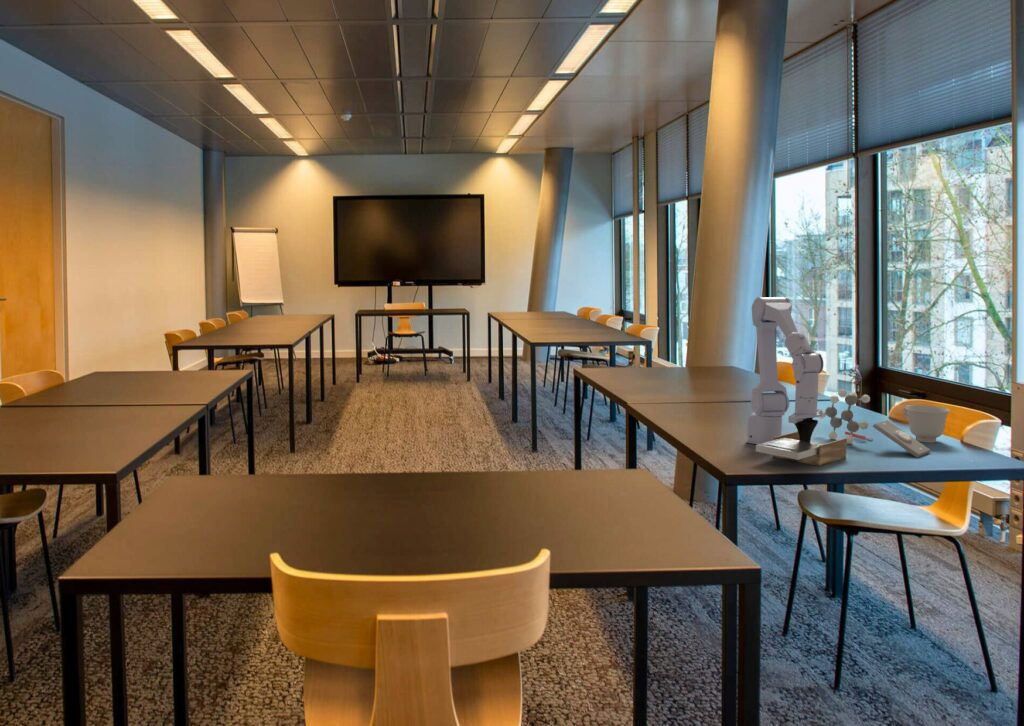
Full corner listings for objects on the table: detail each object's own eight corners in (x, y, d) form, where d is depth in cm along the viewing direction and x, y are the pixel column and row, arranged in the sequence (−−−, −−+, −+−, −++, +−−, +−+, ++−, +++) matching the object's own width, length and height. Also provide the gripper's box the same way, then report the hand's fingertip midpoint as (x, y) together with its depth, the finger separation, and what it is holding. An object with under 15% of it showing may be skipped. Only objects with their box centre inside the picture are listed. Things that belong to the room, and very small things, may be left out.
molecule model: (887, 453, 234) (900, 402, 233) (848, 444, 228) (862, 392, 227) (838, 440, 252) (850, 392, 252) (801, 431, 246) (813, 383, 246)
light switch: (920, 452, 216) (875, 421, 225) (909, 468, 219) (865, 437, 228) (933, 447, 222) (888, 417, 231) (921, 463, 225) (878, 433, 233)
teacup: (917, 433, 249) (919, 402, 247) (957, 443, 235) (959, 410, 233) (887, 436, 245) (889, 404, 244) (926, 446, 231) (928, 413, 230)
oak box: (772, 457, 219) (773, 437, 218) (799, 449, 228) (799, 430, 227) (820, 466, 208) (821, 445, 207) (845, 458, 217) (846, 438, 216)
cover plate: (755, 451, 211) (755, 444, 211) (783, 443, 220) (783, 437, 220) (797, 459, 202) (798, 452, 202) (825, 451, 211) (825, 444, 211)
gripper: (806, 401, 206) (804, 452, 208) (833, 395, 215) (831, 443, 217) (782, 398, 211) (780, 447, 213) (809, 392, 221) (807, 439, 223)
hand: (804, 445), depth 216 cm, fingers closed, pressing on cover plate
